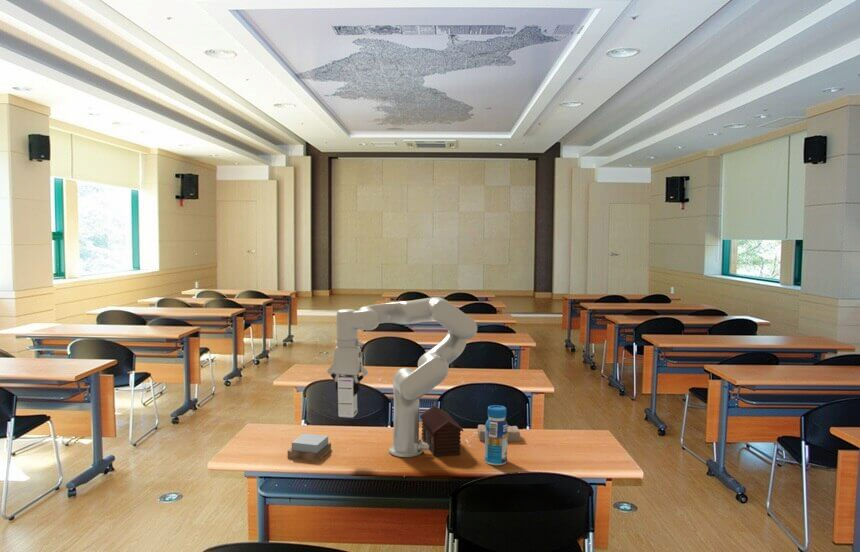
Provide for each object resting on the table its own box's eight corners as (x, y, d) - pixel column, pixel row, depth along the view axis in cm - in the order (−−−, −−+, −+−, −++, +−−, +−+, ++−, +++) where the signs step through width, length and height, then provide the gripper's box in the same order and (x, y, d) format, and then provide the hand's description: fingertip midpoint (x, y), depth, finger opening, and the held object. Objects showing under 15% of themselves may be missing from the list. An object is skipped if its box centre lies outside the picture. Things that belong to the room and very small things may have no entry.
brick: (517, 435, 252) (517, 424, 252) (520, 442, 244) (521, 430, 244) (477, 435, 252) (477, 424, 252) (479, 442, 244) (479, 430, 243)
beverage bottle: (479, 459, 225) (481, 405, 223) (499, 456, 228) (501, 403, 227) (491, 467, 217) (492, 412, 216) (511, 464, 221) (513, 409, 219)
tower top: (328, 443, 231) (328, 436, 231) (317, 453, 221) (317, 445, 221) (303, 441, 233) (303, 433, 233) (291, 450, 224) (291, 442, 223)
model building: (419, 439, 246) (420, 402, 244) (447, 437, 248) (448, 400, 247) (432, 457, 226) (433, 417, 224) (462, 455, 229) (463, 416, 227)
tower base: (331, 450, 232) (331, 442, 232) (318, 462, 221) (318, 454, 220) (301, 447, 235) (301, 440, 235) (287, 459, 223) (287, 451, 223)
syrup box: (353, 417, 221) (353, 378, 220) (337, 416, 222) (337, 377, 221) (357, 413, 227) (357, 374, 226) (342, 412, 228) (342, 373, 227)
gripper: (373, 342, 224) (373, 391, 226) (328, 340, 228) (329, 388, 229) (366, 346, 217) (366, 396, 218) (321, 344, 221) (321, 393, 222)
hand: (347, 391), depth 224 cm, fingers closed on syrup box, 5 cm apart
